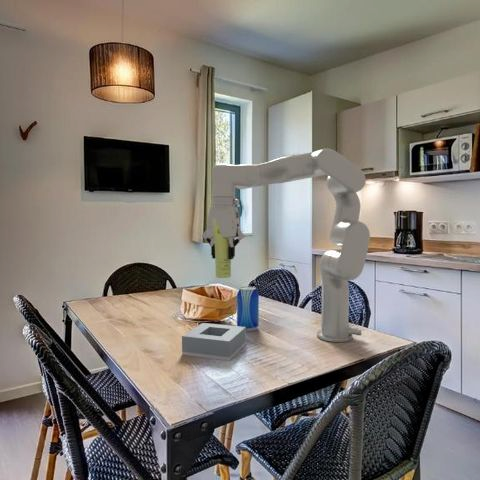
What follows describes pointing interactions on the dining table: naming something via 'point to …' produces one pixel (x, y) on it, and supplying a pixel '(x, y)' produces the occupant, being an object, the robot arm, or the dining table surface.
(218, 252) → the tube
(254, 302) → the beer can
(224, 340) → the well
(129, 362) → the dining table surface
